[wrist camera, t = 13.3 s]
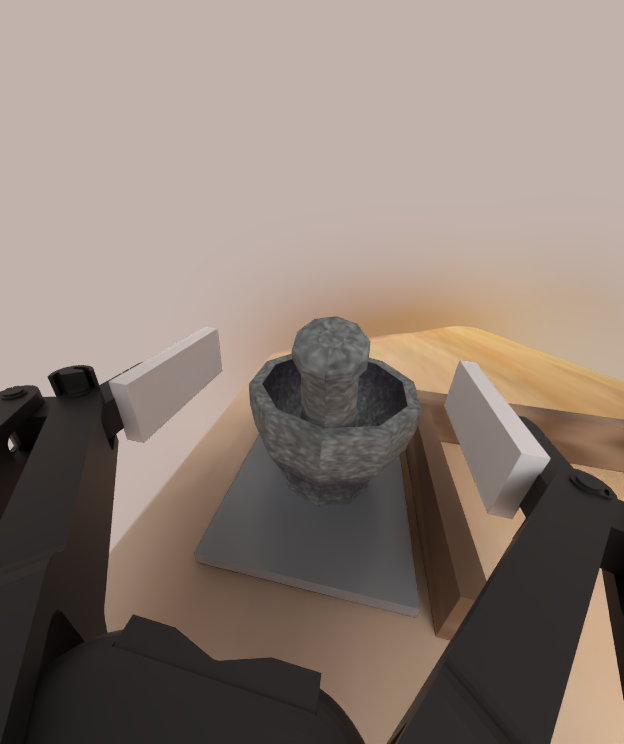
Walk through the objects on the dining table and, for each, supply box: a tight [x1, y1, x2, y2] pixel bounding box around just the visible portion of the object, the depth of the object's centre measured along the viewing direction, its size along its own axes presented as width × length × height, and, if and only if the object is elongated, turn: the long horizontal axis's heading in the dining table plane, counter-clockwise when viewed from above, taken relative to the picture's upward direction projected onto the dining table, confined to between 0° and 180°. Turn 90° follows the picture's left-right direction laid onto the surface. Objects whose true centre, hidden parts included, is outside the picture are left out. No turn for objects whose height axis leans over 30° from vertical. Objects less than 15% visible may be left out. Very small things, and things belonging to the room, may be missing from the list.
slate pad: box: [194, 434, 420, 618], centre depth 19 cm, size 11×13×1 cm
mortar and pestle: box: [249, 317, 422, 506], centre depth 16 cm, size 11×9×12 cm
